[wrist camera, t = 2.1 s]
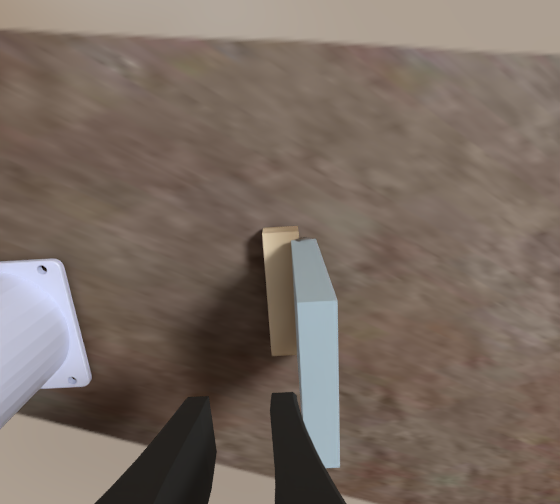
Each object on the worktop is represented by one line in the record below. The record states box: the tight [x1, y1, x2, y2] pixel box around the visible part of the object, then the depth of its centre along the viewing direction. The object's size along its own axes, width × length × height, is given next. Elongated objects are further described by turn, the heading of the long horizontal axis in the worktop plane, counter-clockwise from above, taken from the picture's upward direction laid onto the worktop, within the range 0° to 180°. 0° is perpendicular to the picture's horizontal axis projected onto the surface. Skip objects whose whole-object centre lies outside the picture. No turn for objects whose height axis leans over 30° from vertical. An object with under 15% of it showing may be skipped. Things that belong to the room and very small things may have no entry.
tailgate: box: [291, 237, 340, 468], centre depth 15 cm, size 1×6×7 cm, turn 3°
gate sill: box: [262, 226, 299, 356], centre depth 19 cm, size 2×7×1 cm, turn 3°
